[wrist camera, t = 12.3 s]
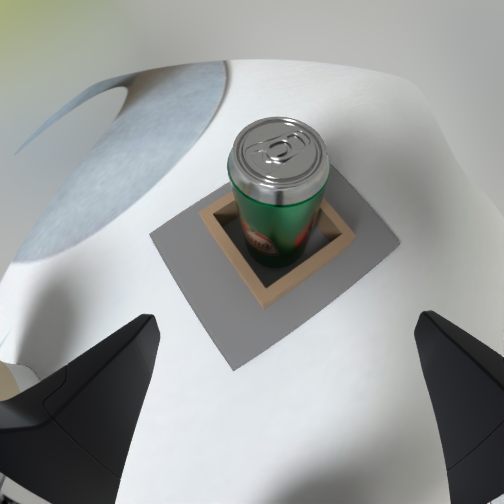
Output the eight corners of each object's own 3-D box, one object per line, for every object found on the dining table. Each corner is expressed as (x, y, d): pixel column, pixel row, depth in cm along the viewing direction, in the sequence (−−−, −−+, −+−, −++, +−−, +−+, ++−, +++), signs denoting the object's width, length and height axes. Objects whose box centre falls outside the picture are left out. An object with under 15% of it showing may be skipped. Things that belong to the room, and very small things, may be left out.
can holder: (234, 370, 21) (228, 375, 17) (150, 235, 25) (135, 220, 21) (398, 245, 23) (415, 231, 20) (304, 141, 27) (308, 119, 24)
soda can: (234, 232, 24) (205, 138, 13) (284, 203, 24) (291, 99, 13) (266, 281, 22) (262, 217, 11) (317, 249, 23) (356, 163, 12)
